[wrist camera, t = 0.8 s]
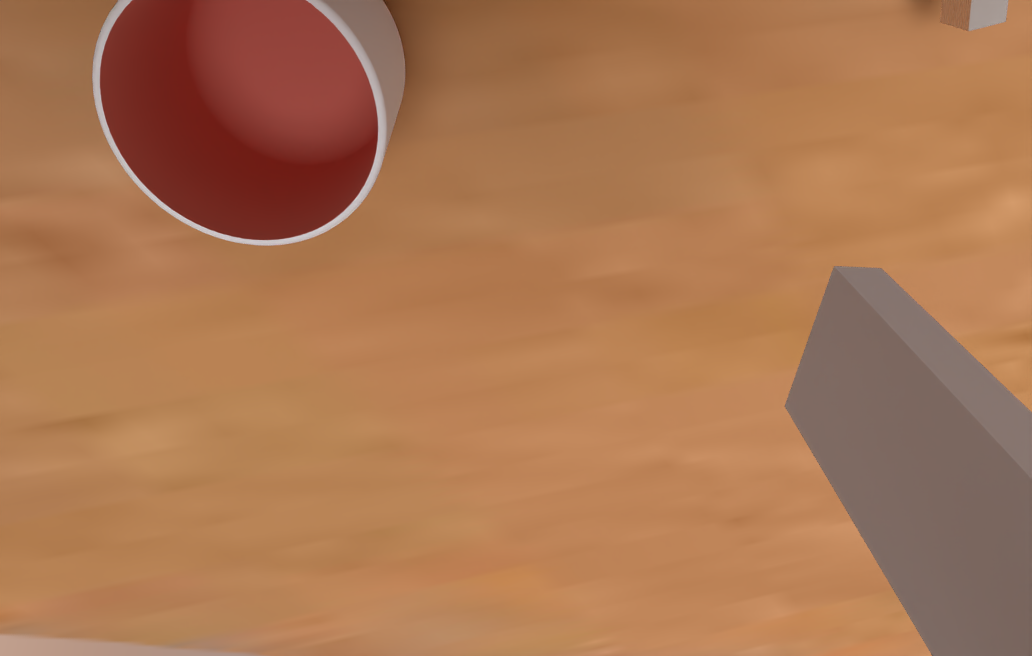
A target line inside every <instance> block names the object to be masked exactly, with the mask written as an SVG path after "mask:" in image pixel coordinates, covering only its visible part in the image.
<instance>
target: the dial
mask: <svg viewBox="0 0 1032 656" xmlns="http://www.w3.org/2000/svg"><path fill="white" fill-rule="evenodd" d="M1007 7H1008V0H942V7H941V20H940V23H943V24H947V25H950V26H953V27H956V28H960V29H963V30H966V31H971V30H975V29H979V28H983V27H987V26H991V25H995V24H999V23H1003V22H1006V15H1007Z"/></svg>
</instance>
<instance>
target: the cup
mask: <svg viewBox="0 0 1032 656" xmlns="http://www.w3.org/2000/svg"><path fill="white" fill-rule="evenodd" d="M92 80H93V93H94V100H95V106H96V110H97V113H98V117H99V121H100V123H101V126H102V129H103V131H104V134H105V137H106V139H107V141H108V143H109V145H110V147H111V149H112V151H113V152H114V154H115V156H116V158H117V159H118V161H119V162H120V164H121V165H122V167H123V168H124V170H125V171H126V172H127V174H128V175H129V176H130V177H131V179H132V180H133V181H134V182H135V183H136V184H137V186H138V187H139V188H140V189H141V190H142V191H143V192H144V193H145V194H146V195H147V196H148V197H149V198H150V199H152V200H153V201H154V202H155V203H156V204H157V205H159V206H160V207H161V208H162V209H164V210H165V211H167V212H168V213H169V214H171V215H172V216H174V217H175V218H177V219H178V220H180V221H182V222H183V223H185V224H187V225H189V226H191V227H193V228H195V229H197V230H199V231H201V232H204V233H206V234H209V235H212V236H214V237H217V238H221V239H224V240H228V241H232V242H236V243H244V244H252V245H283V244H290V243H295V242H300V241H303V240H306V239H310V238H313V237H315V236H317V235H320V234H322V233H324V232H326V231H328V230H330V229H331V228H333V227H335V226H336V225H338V224H339V223H341V222H342V221H343V220H345V219H346V218H347V217H348V216H350V215H351V214H352V213H353V212H354V211H355V210H356V209H357V208H358V207H359V205H360V204H361V203H362V202H363V200H364V199H365V198H366V196H367V195H368V193H369V192H370V190H371V188H372V187H373V185H374V183H375V181H376V179H377V177H378V174H379V171H380V169H381V166H382V163H383V160H384V156H385V153H386V150H387V147H388V143H389V140H390V137H391V134H392V131H393V127H394V124H395V121H396V118H397V115H398V112H399V108H400V105H401V101H402V97H403V93H404V86H405V59H404V52H403V47H402V42H401V39H400V35H399V32H398V29H397V27H396V24H395V22H394V19H393V17H392V15H391V13H390V11H389V10H388V8H387V6H386V5H385V3H384V1H383V0H118V2H117V3H116V4H115V6H114V7H113V8H112V10H111V11H110V13H109V15H108V16H107V18H106V20H105V22H104V24H103V26H102V28H101V31H100V34H99V37H98V40H97V43H96V48H95V53H94V58H93V72H92Z"/></svg>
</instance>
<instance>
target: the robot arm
mask: <svg viewBox="0 0 1032 656" xmlns="http://www.w3.org/2000/svg"><path fill="white" fill-rule="evenodd" d="M785 407H786V409H787V411H788V413H789V414H790V416H791V418H792V419H793V421H794V423H795V424H796V426H797V428H798V429H799V431H800V433H801V435H802V436H803V438H804V440H805V441H806V443H807V445H808V446H809V448H810V450H811V451H812V453H813V455H814V456H815V458H816V460H817V462H818V463H819V465H820V467H821V468H822V470H823V472H824V473H825V475H826V477H827V478H828V480H829V482H830V484H831V485H832V487H833V489H834V490H835V492H836V494H837V495H838V497H839V499H840V500H841V502H842V504H843V505H844V507H845V509H846V511H847V512H848V514H849V516H850V517H851V519H852V521H853V522H854V524H855V526H856V527H857V529H858V531H859V533H860V534H861V536H862V538H863V539H864V541H865V543H866V544H867V546H868V548H869V549H870V551H871V553H872V554H873V556H874V558H875V560H876V561H877V563H878V565H879V566H880V568H881V570H882V571H883V573H884V575H885V576H886V578H887V580H888V582H889V583H890V585H891V587H892V588H893V590H894V592H895V593H896V595H897V597H898V598H899V600H900V602H901V603H902V605H903V607H904V609H905V610H906V612H907V614H908V615H909V617H910V619H911V620H912V622H913V624H914V625H915V627H916V629H917V631H918V632H919V634H920V636H921V637H922V639H923V641H924V642H925V644H926V646H927V647H928V649H929V651H930V652H931V654H932V656H1032V412H1031V411H1030V410H1029V409H1028V408H1026V407H1025V406H1024V405H1023V404H1022V403H1021V402H1020V401H1019V400H1018V399H1017V398H1016V397H1015V396H1014V395H1013V394H1012V393H1011V392H1010V391H1009V390H1008V389H1007V388H1006V387H1005V386H1004V385H1002V384H1001V383H1000V382H999V381H998V380H997V379H996V378H995V377H994V376H993V375H992V374H991V373H990V372H989V371H988V370H987V369H986V368H985V367H984V366H983V365H982V364H981V363H980V362H978V361H977V360H976V359H975V358H974V357H973V356H972V355H971V354H970V353H969V352H968V351H967V350H966V349H965V348H964V347H963V346H962V345H961V344H960V343H959V342H958V341H957V340H956V339H955V338H953V337H952V336H951V335H950V334H949V333H948V332H947V331H946V330H945V329H944V328H943V327H942V326H941V325H940V324H939V323H938V322H937V321H936V320H935V319H934V318H933V317H932V316H931V315H929V314H928V313H927V312H926V311H925V310H924V309H923V308H922V307H921V306H920V305H919V304H918V303H917V302H916V301H915V300H914V299H913V298H912V297H911V296H910V295H909V294H908V293H907V292H905V291H904V290H903V289H902V288H901V287H900V286H899V285H898V284H897V283H896V282H895V281H894V280H893V279H892V278H891V277H890V276H889V275H888V274H887V273H886V272H885V271H884V270H883V269H881V268H865V267H842V266H834V268H833V271H832V273H831V276H830V279H829V282H828V285H827V288H826V290H825V293H824V296H823V299H822V302H821V305H820V307H819V310H818V313H817V316H816V319H815V322H814V324H813V327H812V330H811V333H810V336H809V339H808V341H807V344H806V347H805V350H804V353H803V356H802V359H801V361H800V364H799V367H798V370H797V373H796V376H795V378H794V381H793V384H792V387H791V390H790V393H789V395H788V398H787V401H786V404H785Z"/></svg>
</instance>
